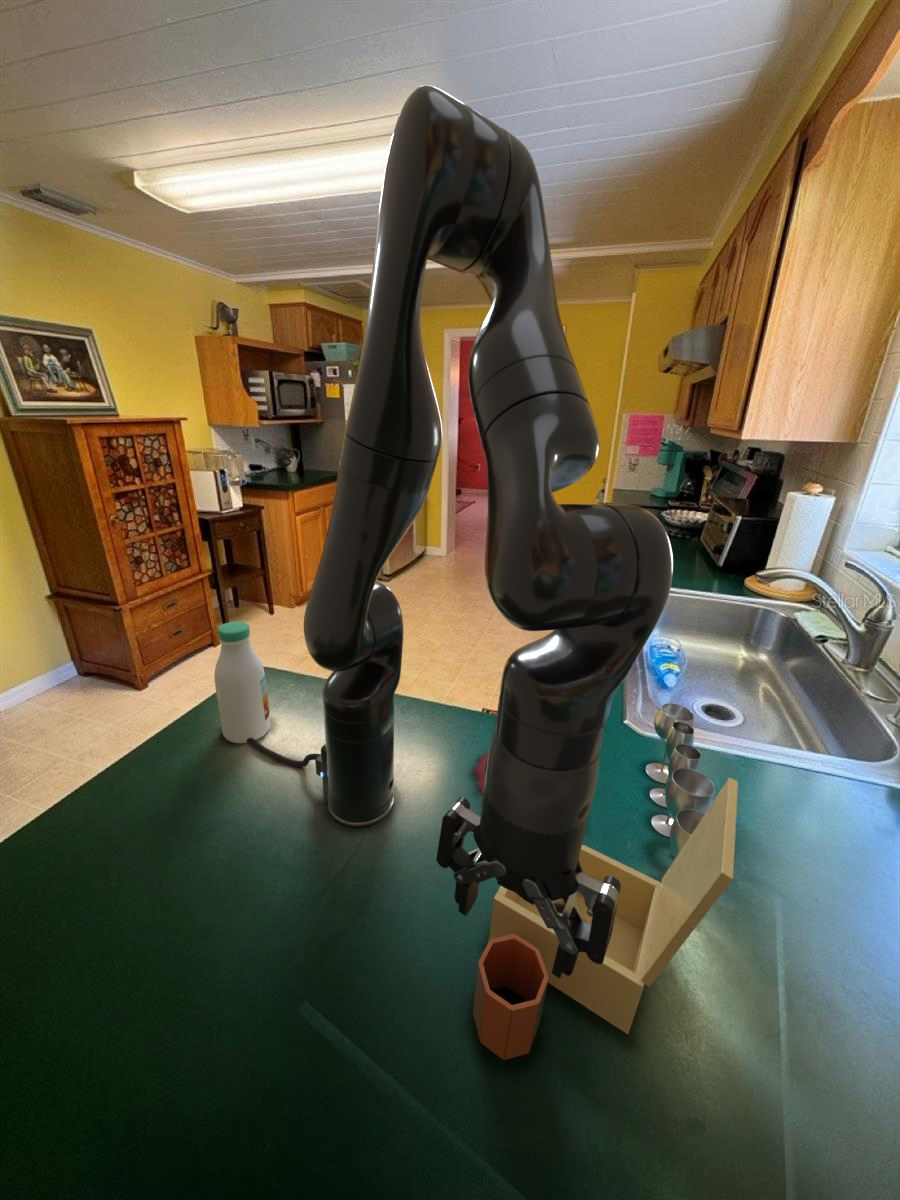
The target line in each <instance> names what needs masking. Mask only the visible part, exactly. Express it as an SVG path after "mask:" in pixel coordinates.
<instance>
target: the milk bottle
mask: <svg viewBox="0 0 900 1200" xmlns="http://www.w3.org/2000/svg"><path fill="white" fill-rule="evenodd" d="M217 636H218V642H219V644H221V647H220V652H219V655H218V658H217V660H216V664H215V668H214V686H215V694H216V701H217V707H218V713H219V720H220V726H221V730H222V731H221V732H222V735H223V737H224V738H225V739H226V740H227V741H228V742H231V743H234V744H247V743H248V742H247V739H248V738H253V739H254V740H256V741H257V740H259V739H261V738H263V737H264V736H265V735H266V734H267V733H268V732H269V730H270V728H271V714H270V704H269V697H268V689H267V681H266V674H265V669H264V665H263V662H262V660H261V657H259V655H258V653H256V651H255V650H254V648H253V646H252V644H251V641H250V639H251V629H250V625H249V623H247V622H245V621H229V622H226V623H223V624H221V625H220V626H219V627H217Z"/></svg>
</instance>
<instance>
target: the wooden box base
mask: <svg viewBox="0 0 900 1200" xmlns="http://www.w3.org/2000/svg"><path fill="white" fill-rule="evenodd" d="M579 862H580V865H581V868H582V872H583V873H585V874H587V875H589V876H591V877H593V878H595V879H597V880H599V881H601V882H603V881H604V878H605V877H606V876H613V877H615V878H617V879H618V880H619V882H620V883H621V890H620V895H619V900H618V905H617V910H616V916H615V921H614V926H613V931H612V935H611V938H610V941H609V945H608V948H607V951H606V954H605V958H604V961H603V963H602V964H596V963H594V962H592V961H591V960H590V959H589V958H588V956H587V953H585V952H579V954H578V958H577V961H576V964H575V966H574V969H573V972H572V974H571V975H570V976H567V975H565V974H564V973H562V975H561V978H560V979H559V978H558V977H556V976H555V975H553V974H552V969H553V965H554V961H555V957H556V953H557V948H558V945H559V942H560V941H559V940H558V938H557V936H556V934H555V932H554V930H553V929H549V928H547V927H546V925H545V923H544V921H543V919H542V917H541V915H540V913H539V911H538V909H537V907H536V905H535V904H534V905H532V904H530V903H529V902H527V901H525V900H524V899H523V898H521V897H520V896H519V895H518V894H517V893H515V892H513V891H511V890H508V889H506V888H504V887H502V886H501V885H500V886H499V888H498V890H497V892H496V894H495V896H494V897H493V903H492V910H491V911H492V912H491V919H490V925H489V933H488V934H489V936H488V942H487V944H488V943H489V941H490V940H491V939H494V938H498V937H503V936H507V935H512V934H514V935H517V936H519V937H520V938H522V939H523V940H525V941H527V942H528V943H530V944H531V945H533V946H535V947H536V948H537V949H538V950H539V952H540V955H541V957H542V960H543V963H544V965H545V968H546V970H547V973H548V975H549V980H548V984H550V985H551V986H553V987H555V988H556V989H557V990H559V991H561V992H562V993H563V994H565V995H566V996H568V997H570V998H571V999H573V1000H574V1001H575V1002H577V1003H579V1004H581V1005H582V1006H584V1007H585V1008H587V1009H588V1010H590V1011H591V1012H592V1013H594V1014H596V1015H597V1016H599V1017H600V1018H602V1019H604V1020H605V1021H607V1022H608V1023H610V1024H611V1025H613V1026H614V1027H616V1028H617V1029H619V1030H620V1031H622V1032H623V1033H625V1034H626V1035H629V1033H630V1030H631V1027H632V1024H633V1021H634V1019H635V1015H636V1013H637V1009H638V1006H639V1003H640V1000H641V997H642V994H643V991H644V988H645V984H644V983H643V982H642V981H641V977H642V972H643V967H644V962H645V958H646V953H647V948H648V943H649V939H650V934H651V929H652V924H653V919H654V915H655V910H656V905H657V900H658V896H659V891H660V886H661V882H660V881H659V880H657V879H654V878H652V877H651V876H648V875H646V874H644V873H642V872H640V871H638V870H636V869H634V868H632V867H631V866H628V865H626V864H623V863H622V862H620V861H618V860H616V859H614V858H611V857H609V856H607V855H606V854H603V853H601V852H599V851H598V850H595V849H593V848H591V847H589V846H587V845H585V844H583V843H582V847H581V851H580V855H579ZM576 894H577V904H578V906H579V908H580V910H581V912H582V914H583V915H584V917H585V919H586V921H587V923H589V924H591V923H592V917H591V916H589V915H588V914H587V909H588V908H587V906H586V905H585V900H584V897H583V896H582V894H581V893H579V892H578V891H576ZM552 902H554V901H552ZM568 922H569V920H568Z"/></svg>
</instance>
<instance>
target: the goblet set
mask: <svg viewBox="0 0 900 1200" xmlns="http://www.w3.org/2000/svg"><path fill="white" fill-rule="evenodd" d="M695 722H696V721H695V715H694V713H693V712H692V710H690V709H689V708H688V707H686V706H683V705H681V704H677V703H665V704H663V705H662V706H661V707H660V708H659V710H658V711H657V713H656V714H655V716H654V719H653V728H654V731H655V733H656V734H657V736H658V737H659V739H660V740H661V741H662V742H663V745H664V754H663V759H662V762H661V763H658V762H651V763H649V764H647V765H646V767H645V772H646V774H647V776H648V777H650V778H651V779H652V780H654V781H655V782H658V783H661V784H665V786H664V788H660V787H655V788H652V789H651V790H650V791H649V797H650V798H651V800H652V801H653V802H654V803H655V804H656V805H658V806H661V807H663V808H667V809H666V810H667V811H668V812H667V813H668V814H667V815H664V814H656V815H654V816H653V817H651V825H652V828H653V829H655V831H656V832H657V833H659V835H662V836H664V837H667V838H669V844H670V849H669V853H668V856H669V857H673V855H674V857H675V858H676V857H677V856H678V854H679V853H680V851H681V850H682V848H683V847H684V845H685V843H686V842H687V840H688V839H689V837H690V836H691V834H692V833H693V831H694V830H695V828H696V827H697V825H698V824H699V822H700V821H701V819H702V818H703V816H704V815H705V813H706V812H707V810H708V809H709V807H710V806H711V804H712V803H713V801H714V800H715V795H716V794H715V792H716V788H715V785H714V783H713V781H712V780H711V779H710V778H709V777H708V776H706V775H705V774H703V773H702V772H700V769H701V763H702V754H701V752H700V750H699V749H697V748H696V747H695V746H694V742H695V729H696V723H695ZM666 761H668V765H665V764H666Z"/></svg>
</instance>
